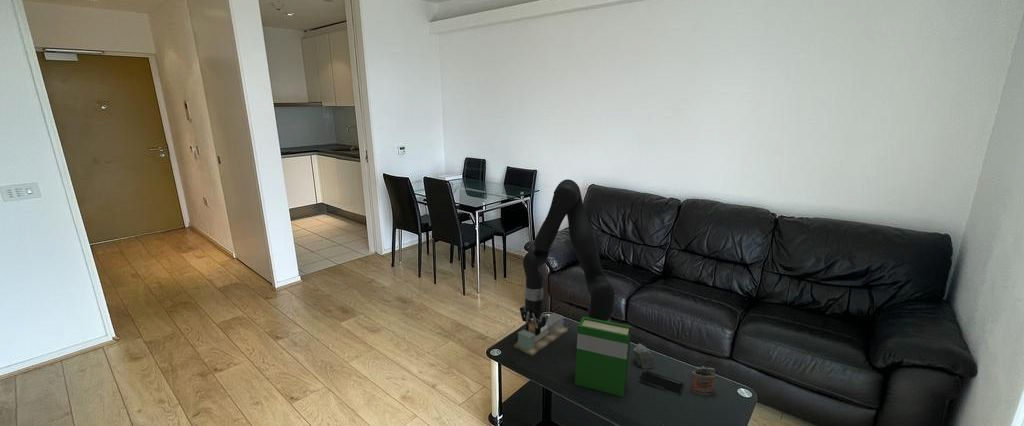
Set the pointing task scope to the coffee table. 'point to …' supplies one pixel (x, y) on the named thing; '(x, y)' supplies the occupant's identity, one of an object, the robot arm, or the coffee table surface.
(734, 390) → the coffee table surface
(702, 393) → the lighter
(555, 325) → the aluminium sleeve
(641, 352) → the mineral specimen
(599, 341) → the hardback book
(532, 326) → the tube
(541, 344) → the oak base
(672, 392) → the phone
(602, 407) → the coffee table surface
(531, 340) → the sage socket
